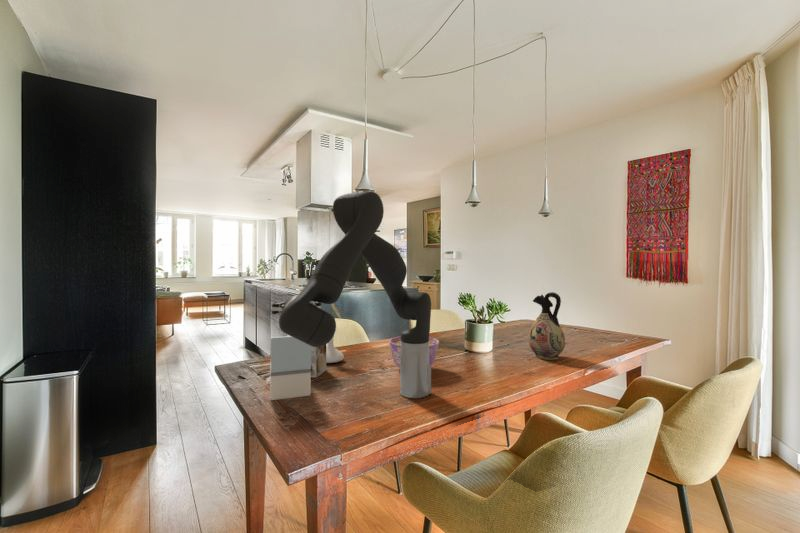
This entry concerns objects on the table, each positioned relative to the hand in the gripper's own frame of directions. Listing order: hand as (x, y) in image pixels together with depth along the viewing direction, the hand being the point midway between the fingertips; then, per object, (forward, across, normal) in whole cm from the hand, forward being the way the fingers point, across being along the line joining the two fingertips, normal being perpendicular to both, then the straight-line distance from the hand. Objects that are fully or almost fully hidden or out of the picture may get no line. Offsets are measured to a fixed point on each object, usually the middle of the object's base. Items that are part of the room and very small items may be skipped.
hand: (294, 304), depth 101 cm
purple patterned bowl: (+27, -48, +30) cm, 63 cm away
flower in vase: (+50, -19, +30) cm, 62 cm away
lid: (+12, 0, +16) cm, 20 cm away
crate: (+18, 0, +31) cm, 36 cm away
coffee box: (+35, -10, +31) cm, 48 cm away
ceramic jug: (+23, -112, +30) cm, 118 cm away
